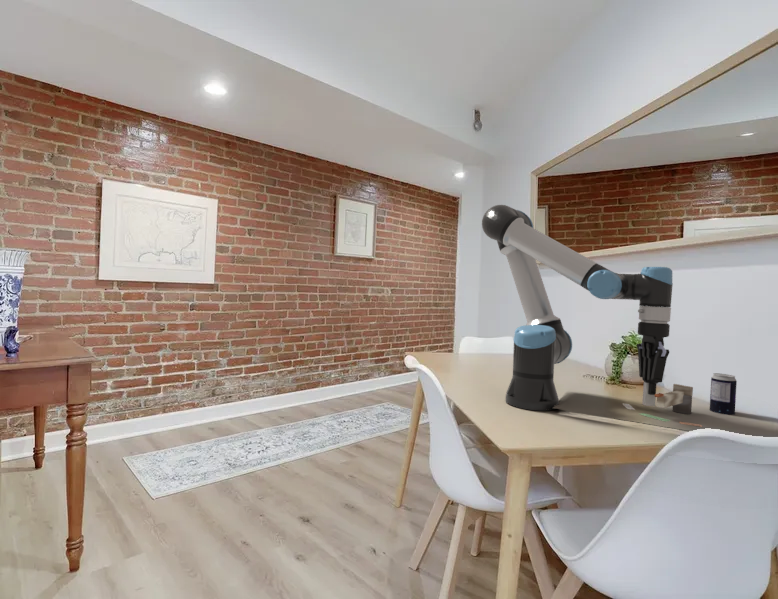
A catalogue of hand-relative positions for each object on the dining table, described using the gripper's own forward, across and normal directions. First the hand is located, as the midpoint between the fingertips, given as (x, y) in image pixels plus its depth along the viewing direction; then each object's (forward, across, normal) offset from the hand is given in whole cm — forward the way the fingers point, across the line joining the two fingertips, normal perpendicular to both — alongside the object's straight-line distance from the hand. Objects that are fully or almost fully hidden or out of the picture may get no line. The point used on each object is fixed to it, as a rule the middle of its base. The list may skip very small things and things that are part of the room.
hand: (648, 405), depth 119 cm
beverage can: (+3, -3, +22) cm, 22 cm away
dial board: (+3, +2, +1) cm, 4 cm away
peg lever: (+1, +4, +4) cm, 6 cm away
